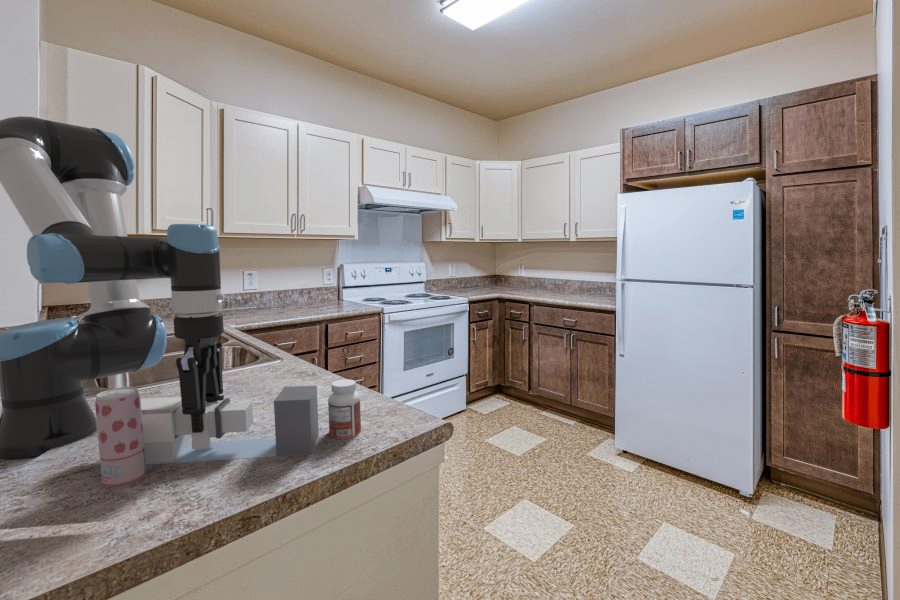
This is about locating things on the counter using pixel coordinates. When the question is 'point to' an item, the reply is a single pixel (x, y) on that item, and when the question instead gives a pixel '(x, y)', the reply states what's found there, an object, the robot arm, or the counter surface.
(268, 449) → the mounting board
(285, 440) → the socket
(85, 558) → the counter surface
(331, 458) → the counter surface
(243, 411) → the tube
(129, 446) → the beverage can
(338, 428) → the pill bottle
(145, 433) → the sleeve
